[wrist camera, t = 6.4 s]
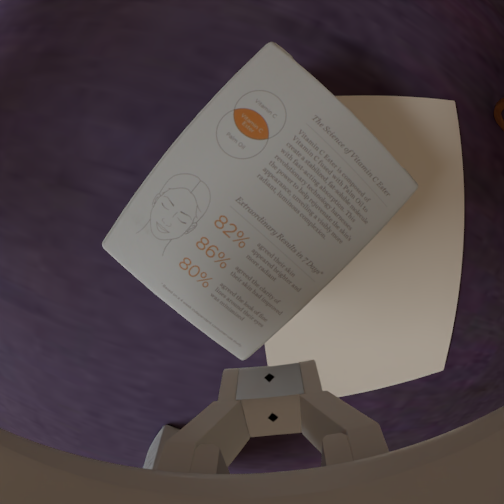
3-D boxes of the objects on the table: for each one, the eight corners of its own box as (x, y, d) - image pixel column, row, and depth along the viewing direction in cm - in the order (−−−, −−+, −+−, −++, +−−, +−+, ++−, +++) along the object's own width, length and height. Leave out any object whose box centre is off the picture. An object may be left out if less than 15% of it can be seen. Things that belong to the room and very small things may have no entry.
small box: (247, 308, 18) (375, 178, 15) (242, 366, 12) (425, 188, 10) (143, 218, 16) (269, 76, 14) (95, 245, 11) (273, 35, 9)
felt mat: (273, 401, 21) (274, 406, 20) (230, 108, 15) (229, 106, 15) (440, 366, 20) (443, 370, 19) (449, 101, 14) (454, 100, 14)
